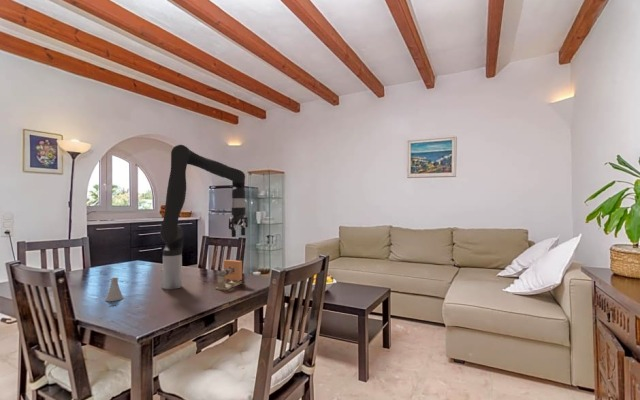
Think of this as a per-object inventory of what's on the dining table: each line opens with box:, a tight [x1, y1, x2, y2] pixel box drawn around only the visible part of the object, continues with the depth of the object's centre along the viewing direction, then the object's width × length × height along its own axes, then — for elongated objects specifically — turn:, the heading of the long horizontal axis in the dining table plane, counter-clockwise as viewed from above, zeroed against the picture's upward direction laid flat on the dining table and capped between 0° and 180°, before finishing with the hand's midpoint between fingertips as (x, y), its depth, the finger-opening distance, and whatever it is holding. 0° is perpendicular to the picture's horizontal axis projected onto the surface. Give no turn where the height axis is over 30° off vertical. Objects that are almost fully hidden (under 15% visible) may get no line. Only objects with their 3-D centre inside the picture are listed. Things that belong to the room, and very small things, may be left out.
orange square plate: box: [223, 259, 243, 281], centre depth 180 cm, size 10×2×10 cm, turn 70°
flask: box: [105, 277, 124, 302], centre depth 154 cm, size 7×7×10 cm
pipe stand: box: [214, 267, 243, 291], centre depth 177 cm, size 15×6×9 cm, turn 160°
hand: (238, 236), depth 182 cm, fingers open, 8 cm apart
